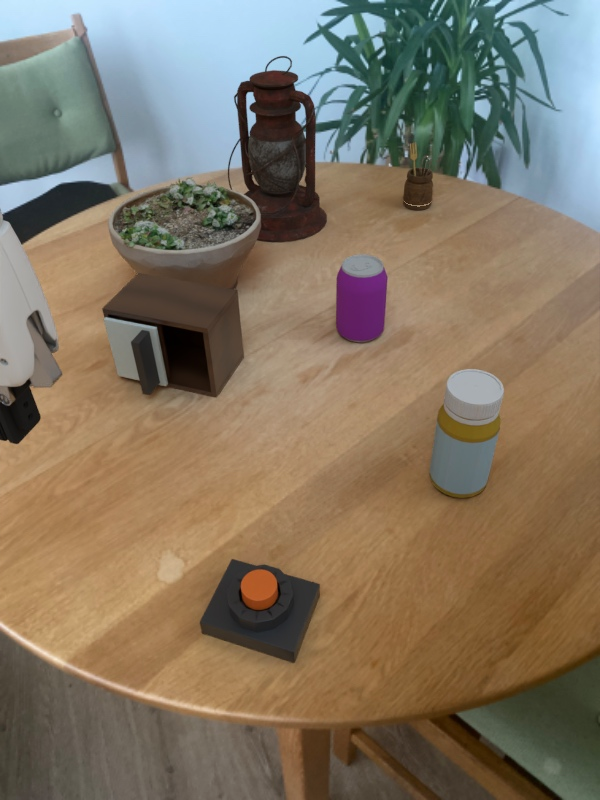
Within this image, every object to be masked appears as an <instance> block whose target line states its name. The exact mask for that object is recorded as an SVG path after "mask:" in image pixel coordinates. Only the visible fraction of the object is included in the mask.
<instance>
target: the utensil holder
mask: <svg viewBox="0 0 600 800" xmlns="http://www.w3.org/2000/svg"><path fill="white" fill-rule="evenodd" d="M417 149H418V148H417V142H416V141H415V142H412V143H409V157H410V160H411V161H412V166H413V167H412V168H410V169H408V171H407V173H406V180H405V182H404V187H403V198H402V199H403V200H404V201H405V202H406V203H408V204H412V205H424V204H428V203H430V202H431V201H433V193H434V182H433V177H434V175H433V171H432V168H426V167H423V161H424V160H425V159H426V158H427V159H426V160H425V166H427V163H428V160H429V161H432V160H433V159H432V158H431V156H429V155H424V156H423V158H422V160H421V161H419V164H420V165H419V166H418V167H416V160H417V159H418V150H417ZM428 167H432V162H429V166H428ZM403 200H402V201H403ZM404 201H403V206H404V207H405V208H407V209H409V210H412V211H423V210H426V209H428V208H430V207H431V205H432V202H431V203H430V204H429V205H426V206H420V207H417V206H411V205H408V204H406V203H405V202H404Z"/></svg>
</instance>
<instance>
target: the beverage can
mask: <svg viewBox="0 0 600 800" xmlns="http://www.w3.org/2000/svg"><path fill="white" fill-rule="evenodd" d="M388 278H389V277H388V273H387V272H386V269H385V265H384V263H383V260H381V259H380V258H379V257H377V256H374V255H371V254H365V253H363V254H362V253H360V254H354V255H350V256H348V257H346V258H344V259H343V260H342V263H341V265H340V267H339V270H338V272H337V274H336V291H335V293H336V294H335V295H336V297H335V327H336V332H337V333H338V334H339V335H340V336H341V337H343V338H344V339H346V340H348V341H350V342H355V343H368V342H371V341H374V340H375V339H376V338H378V337H380V336H381V335H382V334H383V332H384V329H385V321H386V305H387V292H388Z"/></svg>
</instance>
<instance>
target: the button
mask: <svg viewBox="0 0 600 800" xmlns="http://www.w3.org/2000/svg"><path fill="white" fill-rule="evenodd" d="M241 592H242V599H243V601H244V603H245V604H246V605H247V606H248V607H249V608H251V609H254V610H264V609H267V608H269V607H271V606H272V605H273V604H274V603H275V602H276V600H277V597H278V587H277V580H276V578H275V576H274V575H273V574H272V573H271V572H269V571H267V570H262V569H258V570H253V571H251V572H249V573H248V574H246V575H245V577H244V578H243V580H242V582H241Z"/></svg>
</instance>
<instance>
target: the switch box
mask: <svg viewBox="0 0 600 800" xmlns="http://www.w3.org/2000/svg"><path fill="white" fill-rule="evenodd" d="M258 569H262V570H267V571H269V572H271V573H272V574H273V575H274V576H275V578H276V580H277V587H278V597H277V600H276V602H275V603H274V604H273V605H272V606H271V607H269V608H267V609H264V610H254V609H251V608H249V607H248V606H247V605H246V604H245V603H244V601H243V599H242V592H241V582H242V580H243V578H244V577H245V575H246V574H248V573H249V572H251V571H253V570H258ZM320 586H321V584H320V583H318V582H314V581H311V580H307V579H304V578H301V577H297V576H293V575H290V574H287V573H284V572H283V571H282V570H281V569H280V568H279V567H274V566H272V565H271V566H270V565H268V564H258V565H256V564H251V563H249V562H244V561H241V560H238V559H235V558H231V560H230V561H229V563H228V566H227V567H226V569H225V571H224V573H223V575H222V577H221V579H220V581H219V583H218V585H217V587H216V589H215V591H214V592H213V595H212V597H211V599H210V600H209V603H208V604H207V607H206V608H205V610H204V612H203V614H202V617H200V621H199V625H200V629H201V633H202V634H203V635H206V636H209V637H212V638H215V639H219V640H222V641H224V642H228V643H230V644H234V645H237V646H240V647H243V648H246V649H249V650H253V651H255V652H259V653H262V654H265V655H268V656H270V657H274V658H277V659H280V660H283V661H286V662H290V663H292V664H295V663H296V660H297V657H298V655H299V652H300V650H301V647H302V645H303V643H304V639H305V636H306V634H307V631H308V629H309V626H310V623H311V621H312V618H313V615H314V613H315V610H316V607H317V604H318V602H319V599H320V597H321V587H320Z"/></svg>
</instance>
